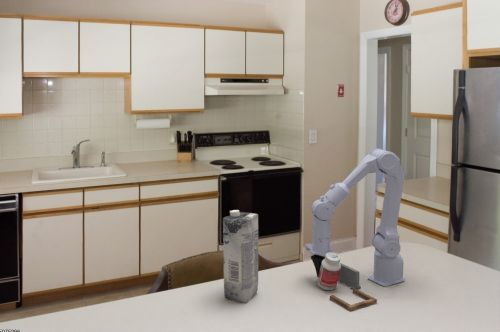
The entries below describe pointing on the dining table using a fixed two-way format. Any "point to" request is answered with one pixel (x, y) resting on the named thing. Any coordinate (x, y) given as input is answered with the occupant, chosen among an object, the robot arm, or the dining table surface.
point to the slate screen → (349, 277)
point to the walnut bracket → (356, 306)
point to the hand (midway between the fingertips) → (320, 276)
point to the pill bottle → (329, 271)
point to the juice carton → (240, 255)
